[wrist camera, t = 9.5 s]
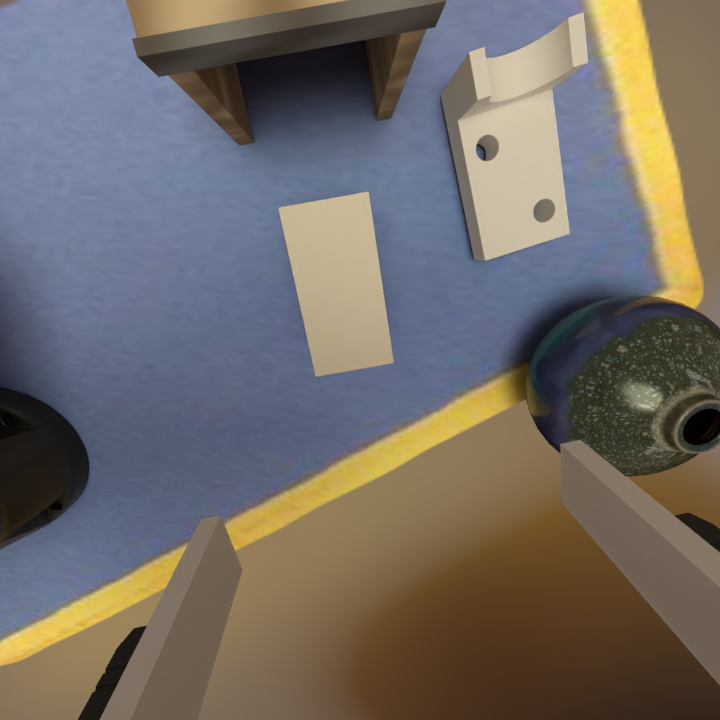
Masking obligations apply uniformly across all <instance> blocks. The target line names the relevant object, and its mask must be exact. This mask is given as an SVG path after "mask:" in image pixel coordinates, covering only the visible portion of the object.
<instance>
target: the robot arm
mask: <svg viewBox="0 0 720 720" xmlns="http://www.w3.org/2000/svg"><path fill="white" fill-rule="evenodd" d="M560 449H561V477H562V503H563V505H564V506H565V507H566V508H567V509H568V510H569V511H570V512H571V514H572V515H573V516H574V517H575V518H576V520H577V521H578V522H579V523H580V524H581V525H582V526H583V528H584V529H585V530H586V531H587V532H588V533H589V534H590V536H591V537H592V538H593V539H594V540H595V542H596V543H597V544H598V545H599V546H600V547H601V548H602V550H603V551H604V552H605V553H606V554H607V555H608V556H609V558H610V559H611V560H612V561H613V562H614V563H615V565H616V566H617V567H618V568H619V569H620V570H621V572H622V573H623V574H624V575H625V576H626V577H627V579H628V580H629V581H630V582H631V583H632V584H633V585H634V587H635V588H636V589H637V590H638V591H639V592H640V593H641V595H642V596H643V597H644V598H645V599H646V601H647V602H648V603H649V604H650V605H651V606H652V607H653V608H654V610H655V611H656V612H657V613H658V614H659V616H660V617H661V618H662V619H663V620H664V621H665V622H666V624H667V625H668V626H669V627H670V628H671V629H672V631H673V632H674V633H675V634H676V635H677V636H678V637H679V639H680V640H681V641H682V642H683V643H684V644H685V646H686V647H687V648H688V649H689V650H690V651H691V653H692V654H693V655H694V656H695V657H696V658H697V659H698V661H699V662H700V663H701V664H702V665H703V666H704V668H706V670H707V671H708V672H709V673H710V675H711V676H712V677H713V678H714V679H715V680H716V682H717V683H718V684H719V685H720V529H719V528H717V527H716V526H715V525H713V524H711V523H710V522H707V521H705V520H703V519H701V518H699V517H697V516H695V515H692V514H691V513H685V514H680V515H675V516H674V515H673V514H672V513H670V512H669V511H668V510H666V509H665V508H664V507H663V506H662V505H660V504H659V503H658V502H657V501H655V500H654V499H653V498H652V497H650V496H649V495H648V494H647V493H645V492H644V491H643V490H642V489H640V488H639V487H638V486H637V485H636V484H634V483H633V482H632V481H630V480H629V479H628V478H627V477H626V476H624V475H623V474H622V473H621V472H620V471H618V470H617V469H616V468H615V467H613V466H612V465H611V464H610V463H608V462H607V461H606V460H605V459H603V458H602V457H601V456H600V455H598V454H597V453H596V452H595V451H594V450H592V449H591V448H590V447H589V446H587V445H586V444H585V443H584V442H582V441H581V440H577V441H572V442H568V443H563V444H560ZM87 476H88V462H87V457H86V453H85V450H84V448H83V445H82V443H81V441H80V439H79V438H78V436H77V434H76V433H75V432H74V430H73V429H72V428H71V426H70V425H69V424H68V423H67V422H66V421H65V420H64V419H63V418H62V417H61V416H60V415H59V414H57V413H56V412H55V411H54V410H52V409H51V408H49V407H48V406H46V405H45V404H43V403H41V402H40V401H38V400H36V399H34V398H32V397H29V396H27V395H24V394H22V393H18V392H15V391H11V390H7V389H1V388H0V549H2V548H4V547H6V546H8V545H10V544H12V543H14V542H15V541H17V540H19V539H21V538H23V537H25V536H27V535H29V534H31V533H33V532H35V531H37V530H39V529H41V528H43V527H45V526H46V525H48V524H50V523H51V522H53V521H54V520H56V519H57V518H58V517H59V516H60V515H61V514H63V513H64V512H65V511H66V510H67V509H68V508H69V507H70V506H71V505H72V504H73V503H74V502H75V501H76V500H77V499H78V497H79V496H80V495H81V493H82V491H83V489H84V487H85V485H86V481H87ZM241 572H242V568H241V565H240V563H239V560H238V558H237V555H236V553H235V550H234V548H233V545H232V543H231V540H230V538H229V535H228V533H227V530H226V528H225V525H224V523H223V520H222V518H221V515H219V516H214V517H209V518H204V519H201V520H200V522H199V524H198V526H197V528H196V530H195V532H194V534H193V536H192V538H191V540H190V542H189V544H188V546H187V548H186V550H185V552H184V554H183V556H182V558H181V560H180V561H179V563H178V565H177V567H176V569H175V571H174V573H173V575H172V577H171V579H170V581H169V583H168V585H167V587H166V589H165V592H164V593H163V595H162V597H161V599H160V601H159V603H158V605H157V607H156V609H155V611H154V613H153V615H152V617H151V619H150V621H149V623H148V625H147V626H143V627H138V628H134V629H133V630H132V631H131V633H130V634H129V635H128V636H127V637H126V638H125V640H124V641H123V642H122V643H121V644H120V646H119V647H118V648H117V649H116V651H115V653H114V655H113V657H112V658H111V660H110V662H109V664H108V666H107V668H106V669H105V670H106V672H105V674H103V675H102V677H101V679H100V680H99V682H98V684H97V686H96V690H95V692H93V693H92V695H91V697H90V698H89V700H88V702H87V704H86V706H85V708H84V710H83V711H82V713H81V715H80V717H79V718H78V720H198V717H199V713H200V710H201V706H202V703H203V700H204V696H205V693H206V690H207V686H208V683H209V680H210V676H211V673H212V669H213V666H214V662H215V659H216V656H217V653H218V649H219V646H220V643H221V639H222V635H223V633H224V629H225V626H226V622H227V619H228V616H229V612H230V609H231V606H232V603H233V599H234V596H235V592H236V589H237V586H238V582H239V579H240V576H241Z"/></svg>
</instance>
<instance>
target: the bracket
mask: <svg viewBox="0 0 720 720" xmlns="http://www.w3.org/2000/svg"><path fill="white" fill-rule="evenodd" d="M587 63H588V56H587V46H586V35H585V24H584V13H580V14H578V15H575V16H572V17H569V18H567V19H566V20H565V21H564V22H563V23H562V24H560V25H559V26H558V27H557V28H555V29H554V30H552V31H551V32H550V33H548V34H547V35H545V36H543V37H542V38H540V39H538V40H537V41H535V42H533V43H531V44H529V45H527V46H525V47H523V48H521V49H519V50H516V51H514V52H511V53H509V54H506V55H503V56H499V57H495V58H486V55H485V49H484V47H483V48H480V49H477V50H474V51H471V52H469V53H468V55H467V56H466V58H465V59H464V61H463V62H462V64H461V65H460V67H459V68H458V70H457V71H456V73H455V74H454V76H453V77H452V79H451V80H450V82H449V83H448V85H447V86H446V88H445V89H444V91H443V92H442V94H441V100H442V105H443V110H444V115H445V119H446V124H447V129H448V134H449V139H450V144H451V149H452V154H453V159H454V163H455V168H456V173H457V178H458V183H459V188H460V193H461V198H462V203H463V207H464V212H465V217H466V222H467V227H468V232H469V237H470V242H471V247H472V251H473V256H474V260H482V261H486V260H489V259H493V258H496V257H499V256H502V255H505V254H508V253H511V252H514V251H518V250H521V249H524V248H527V247H530V246H533V245H536V244H539V243H542V242H546V241H549V240H552V239H555V238H558V237H561V236H564V235H567V234H570V232H569V224H568V216H567V207H566V199H565V191H564V183H563V175H562V166H561V158H560V150H559V142H558V133H557V125H556V117H555V109H554V100H553V92H552V89H553V88H554V87H556V86H557V85H558V84H560V83H561V82H562V81H564V80H565V79H566V78H568V77H569V76H571V75H572V74H573V73H575V72H576V71H577V70H579V69H580V68H581V67H583V66H584V65H585V64H587ZM477 144H479V145H481V146H483V148H484V149H485V152H486V158H485V161H483V160H481V159H480V158H479V157H478V156H477V154H476V145H477ZM533 210H534V215H533Z"/></svg>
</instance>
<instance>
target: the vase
mask: <svg viewBox="0 0 720 720" xmlns="http://www.w3.org/2000/svg"><path fill="white" fill-rule="evenodd" d="M525 387H526V399H527V404H528V408H529V411H530V414H531V416H532V418H533V420H534V422H535V424H536V426H537V428H538V430H539V431H540V432H541V434H542V435H543V436H544V438H545V439H546V440H547V441H548V443H549V444H550V445H551V446H552V447H553V448H555V449H556V450H557V451H558V452H559V453H560V454H561V449H560V444H563V443H568V442H572V441H577V440H581V441H582V442H584V443H585V444H586V445H587V446H589V447H590V448H591V449H592V450H594V451H595V452H596V453H597V454H598V455H600V456H601V457H602V458H603V459H605V460H606V461H607V462H608V463H610V464H611V465H612V466H613V467H615V468H616V469H617V470H618V471H620V472H621V473H622V474H623V475H624V476H642V475H650V474H654V473H659V472H662V471H666V470H669V469H671V468H674V467H677V466H679V465H681V464H683V463H685V462H687V461H689V460H690V459H692V458H693V457H695V456H696V455H698V454H699V453H703V452H706V451H709V450H711V449H713V448H715V447H716V446H718V445H719V444H720V328H719V327H718V326H717V325H716V324H715V323H714V322H712V321H711V320H710V319H708V318H707V317H706V316H705V315H704V314H702V313H700V312H698V311H696V310H694V309H693V308H691V307H689V306H686V305H684V304H682V303H679V302H675V301H672V300H668V299H664V298H660V297H650V296H622V297H615V298H610V299H605V300H601V301H597V302H594V303H592V304H589V305H586V306H584V307H582V308H580V309H578V310H576V311H574V312H572V313H570V314H569V315H567V316H566V317H564V318H563V319H562V320H560V321H559V322H557V323H556V324H555V325H554V326H553V327H552V328H551V329H550V330H549V331H548V332H547V333H546V335H545V336H544V337H543V338H542V340H541V341H540V342H539V344H538V346H537V347H536V349H535V351H534V353H533V355H532V357H531V360H530V362H529V366H528V370H527V374H526V384H525Z"/></svg>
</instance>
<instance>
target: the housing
mask: <svg viewBox="0 0 720 720" xmlns="http://www.w3.org/2000/svg"><path fill="white" fill-rule="evenodd" d="M126 1H127V5H128V8H129V12H130V15H131V18H132V22H133V25H134V29H135V32H136V35H137V38H134V39H132V40H133V44H134V47H135V50H136V54H137V57H138V58H139V59H140V60H141V61H142V62H143V63H145V64H146V65H147V66H148V67H149V68H150V69H151V70H152V71H153V72H154V73H155V74H156V75H157V76H159V77H160V76H166V75H169V76H170V77H171V78H172V79H173V80H174V81H175V82H176V83H177V84H178V85H179V86H180V87H181V88H182V89H183V90H184V91H185V92H186V93H187V94H188V95H189V96H190V97H191V98H192V99H193V100H194V101H195V102H196V103H197V104H198V105H199V106H200V107H201V108H202V109H203V110H204V111H205V112H206V113H207V114H208V115H209V116H210V117H211V118H212V119H213V120H214V121H215V122H216V123H217V124H218V125H219V126H220V127H221V128H222V129H223V130H224V131H225V132H226V133H227V134H228V135H230V136H231V137H232V138H233V139H234V140H235V141H236V142H237V143H238V144H239V145H244V144H249V143H254V140H253V136H252V132H251V127H250V123H249V119H248V114H247V110H246V105H245V101H244V97H243V92H242V88H241V84H240V79H239V75H238V70H237V66H236V63H238V62H244V61H249V60H255V59H261V58H266V57H272V56H277V55H283V54H289V53H294V52H300V51H305V50H311V49H316V48H322V47H328V46H333V45H339V44H344V43H350V42H355V41H361V40H365V41H366V48H367V56H368V63H369V71H370V78H371V85H372V93H373V100H374V108H375V115H376V121H378V120H383V119H389V118H391V117H392V114H393V112H394V109H395V107H396V104H397V102H398V99H399V97H400V94H401V92H402V89H403V87H404V84H405V81H406V79H407V76H408V74H409V71H410V69H411V66H412V64H413V61H414V59H415V56H416V54H417V51H418V49H419V46H420V44H421V41H422V39H423V36H424V34H425V31H426V29H428V28H433V27H435V26H436V24H437V22H438V19H439V17H440V15H441V12H442V10H443V8H444V6H445V3H446V0H126Z"/></svg>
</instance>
